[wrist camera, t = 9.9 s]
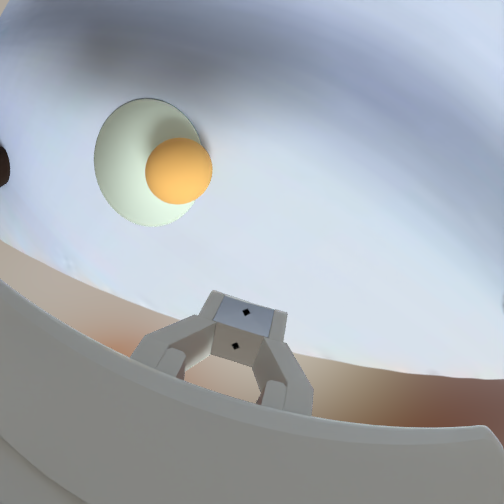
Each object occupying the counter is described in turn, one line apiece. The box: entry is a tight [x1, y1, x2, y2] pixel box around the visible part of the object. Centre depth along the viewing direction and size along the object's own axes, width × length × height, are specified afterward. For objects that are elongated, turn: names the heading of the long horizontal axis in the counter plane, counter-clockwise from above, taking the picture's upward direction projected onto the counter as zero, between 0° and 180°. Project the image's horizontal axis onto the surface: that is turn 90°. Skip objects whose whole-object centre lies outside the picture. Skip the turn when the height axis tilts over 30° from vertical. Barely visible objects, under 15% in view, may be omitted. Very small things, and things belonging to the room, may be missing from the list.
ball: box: [145, 138, 212, 204], centre depth 21 cm, size 6×6×6 cm
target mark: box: [94, 99, 202, 227], centre depth 25 cm, size 13×13×1 cm
